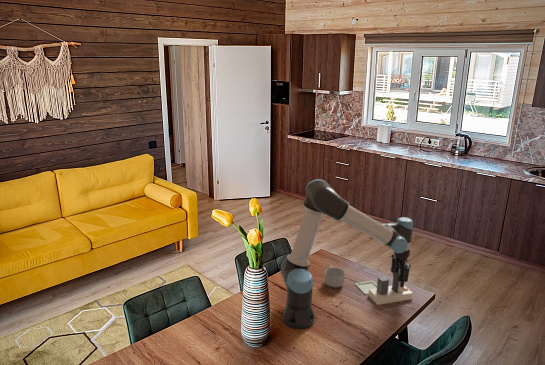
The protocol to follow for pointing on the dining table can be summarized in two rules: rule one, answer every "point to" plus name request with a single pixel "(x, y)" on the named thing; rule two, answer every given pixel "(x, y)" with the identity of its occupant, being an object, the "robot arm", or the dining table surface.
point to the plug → (396, 281)
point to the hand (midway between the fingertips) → (397, 289)
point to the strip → (388, 293)
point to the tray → (366, 286)
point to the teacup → (334, 276)
